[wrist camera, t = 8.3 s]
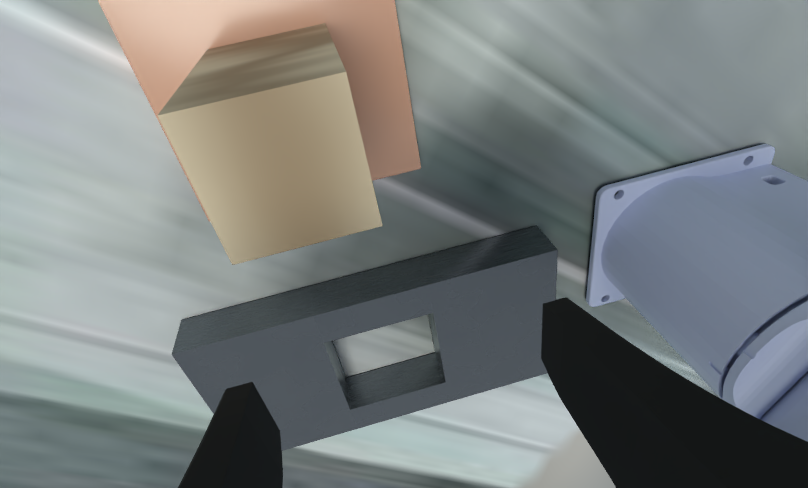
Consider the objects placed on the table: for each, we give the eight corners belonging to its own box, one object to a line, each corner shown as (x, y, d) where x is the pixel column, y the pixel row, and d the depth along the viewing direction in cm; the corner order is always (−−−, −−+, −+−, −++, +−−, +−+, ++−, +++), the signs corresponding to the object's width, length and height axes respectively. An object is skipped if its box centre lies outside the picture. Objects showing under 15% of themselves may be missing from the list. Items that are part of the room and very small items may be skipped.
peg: (324, 22, 15) (346, 71, 10) (352, 133, 18) (382, 226, 12) (207, 49, 15) (156, 115, 9) (251, 158, 17) (232, 264, 12)
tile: (376, -94, 14) (379, -95, 14) (418, 162, 19) (421, 168, 19) (88, -35, 14) (80, -34, 13) (211, 214, 19) (209, 221, 18)
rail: (536, 225, 23) (557, 249, 21) (535, 344, 28) (552, 371, 26) (181, 320, 21) (171, 354, 20) (250, 426, 27) (247, 460, 25)
